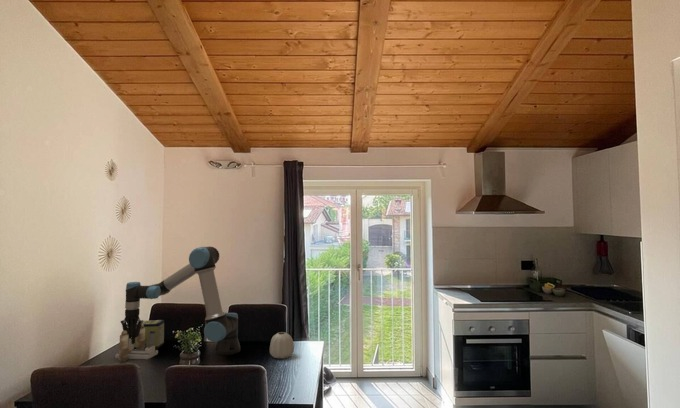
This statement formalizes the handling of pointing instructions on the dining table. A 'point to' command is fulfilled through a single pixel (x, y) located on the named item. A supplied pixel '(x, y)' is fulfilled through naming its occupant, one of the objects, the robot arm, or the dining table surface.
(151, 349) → the breaker
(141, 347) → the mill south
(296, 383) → the dining table surface
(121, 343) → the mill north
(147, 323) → the protein box
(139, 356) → the white rectangular tray
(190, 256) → the robot arm
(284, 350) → the vase
